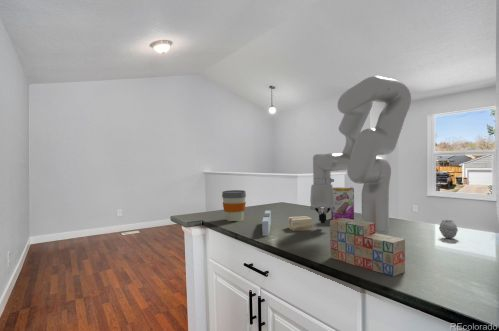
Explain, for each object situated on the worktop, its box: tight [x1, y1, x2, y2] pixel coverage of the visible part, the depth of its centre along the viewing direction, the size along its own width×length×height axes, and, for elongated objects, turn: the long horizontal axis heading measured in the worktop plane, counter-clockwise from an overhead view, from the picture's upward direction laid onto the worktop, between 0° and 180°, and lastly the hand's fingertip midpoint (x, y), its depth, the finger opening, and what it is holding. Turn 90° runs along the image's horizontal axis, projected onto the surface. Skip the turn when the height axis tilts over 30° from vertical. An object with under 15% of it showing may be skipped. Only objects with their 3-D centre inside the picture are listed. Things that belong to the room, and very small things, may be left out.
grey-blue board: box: [261, 210, 272, 237], centre depth 143 cm, size 26×2×6 cm, turn 174°
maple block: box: [288, 215, 314, 232], centre depth 142 cm, size 7×9×5 cm
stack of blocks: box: [329, 218, 406, 277], centre depth 94 cm, size 21×6×12 cm, turn 35°
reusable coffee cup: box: [221, 189, 247, 222], centre depth 165 cm, size 13×13×15 cm
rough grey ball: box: [438, 219, 458, 239], centre depth 120 cm, size 6×7×7 cm
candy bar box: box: [329, 186, 355, 220], centre depth 159 cm, size 11×5×16 cm, turn 84°
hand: (322, 222), depth 141 cm, fingers closed
